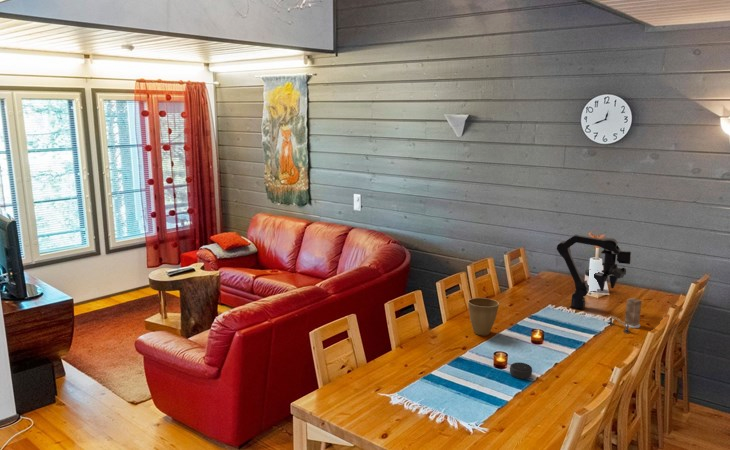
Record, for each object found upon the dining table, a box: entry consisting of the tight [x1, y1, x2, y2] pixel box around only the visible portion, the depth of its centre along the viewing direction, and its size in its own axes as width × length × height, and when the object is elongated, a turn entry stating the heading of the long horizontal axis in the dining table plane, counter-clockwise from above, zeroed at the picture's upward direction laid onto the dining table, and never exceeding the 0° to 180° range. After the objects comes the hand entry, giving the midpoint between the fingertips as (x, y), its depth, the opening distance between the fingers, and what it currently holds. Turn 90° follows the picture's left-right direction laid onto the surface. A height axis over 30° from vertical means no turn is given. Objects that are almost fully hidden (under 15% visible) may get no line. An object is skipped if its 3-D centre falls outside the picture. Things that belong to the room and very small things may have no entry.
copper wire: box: [606, 315, 631, 334], centre depth 302 cm, size 14×3×4 cm, turn 17°
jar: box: [584, 269, 590, 284], centre depth 367 cm, size 9×8×12 cm
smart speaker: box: [509, 362, 533, 380], centre depth 246 cm, size 9×9×4 cm
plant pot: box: [467, 297, 500, 336], centre depth 292 cm, size 15×15×16 cm
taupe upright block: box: [624, 297, 642, 326], centre depth 305 cm, size 5×5×13 cm
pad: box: [623, 323, 641, 329], centre depth 306 cm, size 8×8×1 cm
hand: (607, 289), depth 324 cm, fingers open, 9 cm apart
